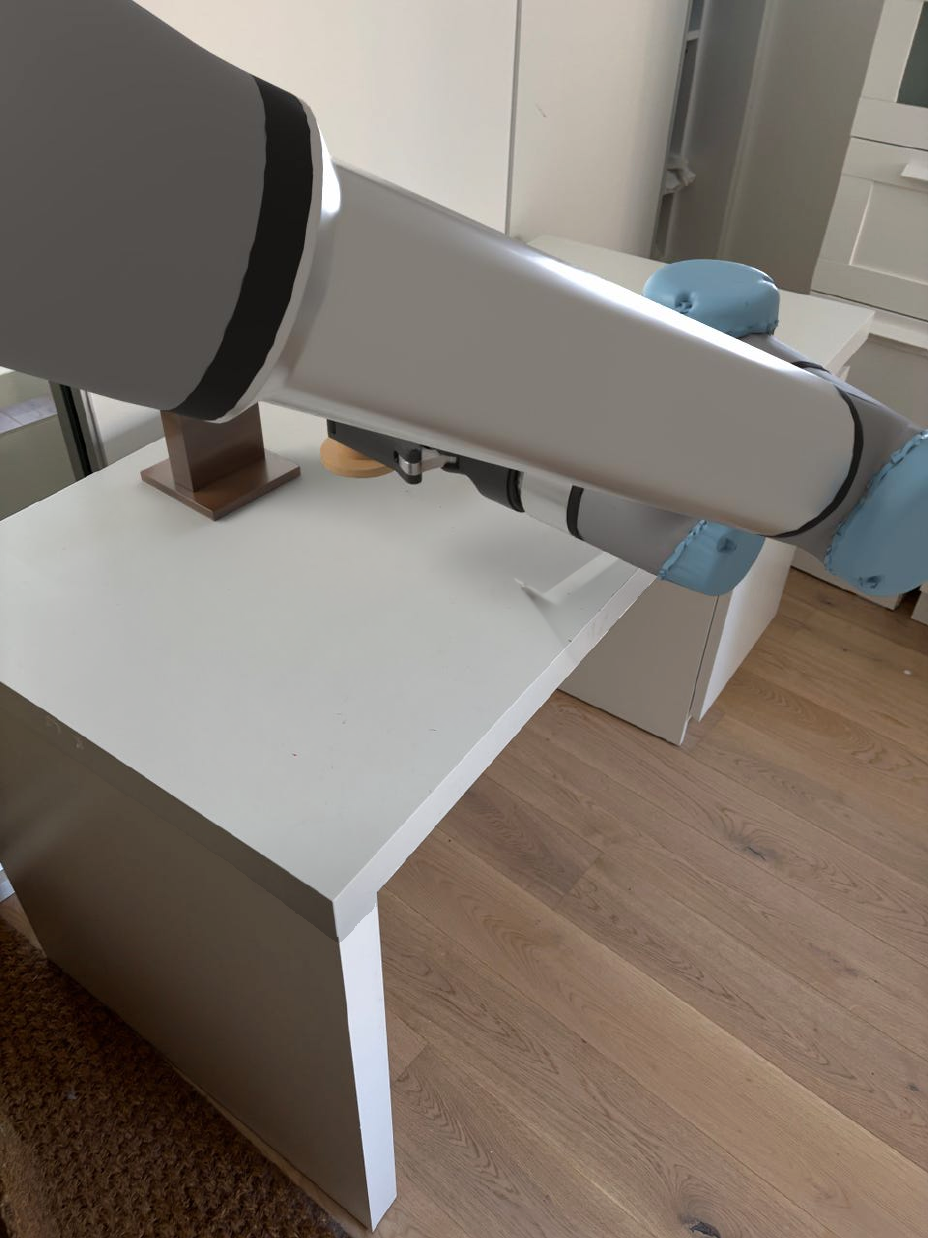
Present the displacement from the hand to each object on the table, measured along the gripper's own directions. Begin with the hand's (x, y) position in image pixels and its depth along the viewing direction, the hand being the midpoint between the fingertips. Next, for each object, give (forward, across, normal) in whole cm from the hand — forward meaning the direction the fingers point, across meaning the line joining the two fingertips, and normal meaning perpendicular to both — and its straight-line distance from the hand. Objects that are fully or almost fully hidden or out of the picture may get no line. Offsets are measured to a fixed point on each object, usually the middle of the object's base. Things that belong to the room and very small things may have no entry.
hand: (311, 366), depth 78 cm
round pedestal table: (-5, 0, -6) cm, 8 cm away
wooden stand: (+12, 0, -16) cm, 20 cm away
